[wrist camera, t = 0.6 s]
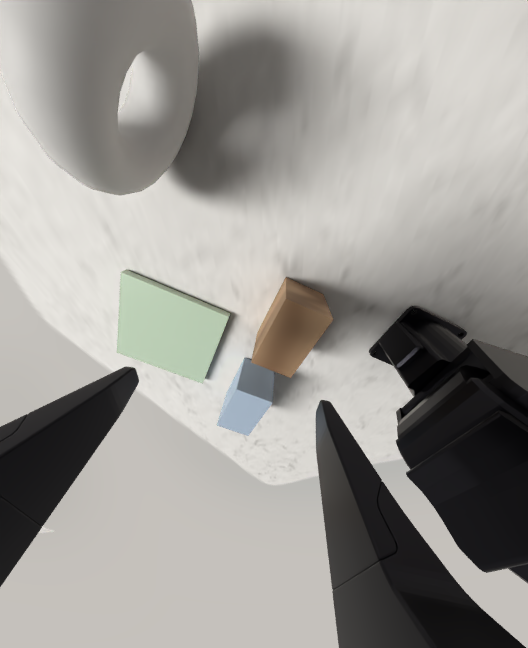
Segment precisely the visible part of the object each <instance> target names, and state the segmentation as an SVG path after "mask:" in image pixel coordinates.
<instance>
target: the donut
mask: <svg viewBox="0 0 528 648" xmlns="http://www.w3.org/2000/svg"><path fill="white" fill-rule="evenodd" d="M130 66H131V78H130V85H129V90H128V93H127V96H126V99H125V102H124V104H123V106H122V107H121V109H120V110H119V112H118V105H119V97H120V91H121V88H122V85H123V82H124V79H125V76H126V73H127V71H128V69H129V67H130ZM198 68H199V47H198V36H197V26H196V19H195V14H194V8H193V4H192V1H191V0H0V73H1V76H2V78H3V81H4V83H5V86H6V88H7V91H8V93H9V96H10V98H11V101H12V103H13V105H14V108H15V110H16V112H17V114H18V115H19V117H20V118H21V120H22V121H23V123H24V124H25V126H26V127H27V128H28V130H29V131H30V133H31V134H32V135H33V137H34V138H35V139H36V141H37V142H38V144H39V145H40V146H41V148H42V149H43V151H44V152H45V153H46V155H47V156H48V157H49V158H50V159H51V160H52V161H53V162H54V163H55V164H56V165H58V166H59V167H60V168H61V169H63V170H64V171H65V172H67V173H68V174H69V175H71V176H72V177H73V178H75V179H76V180H77V181H79V182H80V183H81V184H83V185H85V186H87V187H89V188H91V189H93V190H97V191H102V192H106V193H110V194H114V195H125V194H130V193H135V192H140V191H142V190H144V189H146V188H147V187H149V186H150V185H152V184H154V183H155V182H156V181H157V180H158V179H159V178H160V177H161V176H162V174H163V173H164V172H165V171H166V170H167V169H168V168H169V166H170V165H171V163H172V162H173V160H174V159H175V157H176V156H177V154H178V152H179V150H180V148H181V145H182V143H183V141H184V139H185V137H186V134H187V131H188V127H189V124H190V121H191V118H192V114H193V109H194V104H195V98H196V93H197V85H198ZM117 113H118V114H117Z"/></svg>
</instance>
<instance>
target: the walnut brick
mask: <svg viewBox="0 0 528 648" xmlns="http://www.w3.org/2000/svg"><path fill="white" fill-rule="evenodd" d="M332 321H333V317H332V315H331V312H330V310H329V307H328V305H327V302H326V300H325V297H324V295H323V294H322V293H320V292H317V291H315V290H313V289H311V288H309V287H307V286H304V285H302V284H300V283H298V282H296V281H294V280H291V279H289V278H287V277H286V278H285V280H284V282H283V284H282V286H281V288H280V290H279V292H278V293H277V295H276V297H275V299H274V301H273V303H272V305H271V307H270V309H269V311H268V313H267V315H266V317H265V319H264V321H263V323H262V325H261V327H260V329H259V331H258V333H257V337H256V342H255V347H254V351H253V356H252V361H251V363H253V364H256V365H259V366H261V367H264V368H266V369H269V370H272V371H274V372H277V373H279V374H282V375H284V376H287V377H290V378H291V377H292V375H293V374H294V373H295V371H296V370H297V369H298V367H299V366H300V365H301V363H302V362H303V360H304V359H305V358H306V356H307V355H308V354H309V352H310V351H311V350H312V348H313V347H314V345H315V344H316V343H317V341H318V340H319V339H320V337H321V336H322V334H323V333H324V332H325V330H326V329H327V328H328V326H329V325H330V324H331V322H332Z"/></svg>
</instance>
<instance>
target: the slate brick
mask: <svg viewBox="0 0 528 648" xmlns="http://www.w3.org/2000/svg"><path fill="white" fill-rule="evenodd" d="M251 361H252V360H250V359H248V358H244V360H243V362H242V364H241V366H240V368H239V370H238V372H237V374H236V376H235V378H234V379H233V381H232V383H231V385H230V387H229V389H228V391H227V394H226V397H225V400H224V404H223V407H222V410H221V413H220V416H219V420H218V423H217V426H220V427H223V428H226V429H229V430H232V431H235V432H238V433H241V434H244V435H247V436H248V435H249V434H250V433H251V431H252V430H253V429H254V427H255V426H256V425H257V423H258V422H259V420H260V419H261V418H262V416H263V415H264V414H265V412H266V411H267V410H268V408H269V407H270V405H271V404H272V403H273V389H274V374H275V372H274V371H272V370H269V369H266V368H264V367H261V366H259V365H256V364H253V363H251Z"/></svg>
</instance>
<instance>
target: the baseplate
mask: <svg viewBox="0 0 528 648" xmlns="http://www.w3.org/2000/svg"><path fill="white" fill-rule="evenodd" d="M230 314H231V313H229V312H226V311H224V310H221V309H219V308H217V307H214V306H212V305H209V304H207V303H205V302H202V301H200V300H197V299H195V298H193V297H190V296H188V295H186V294H183V293H181V292H178V291H176V290H174V289H171V288H169V287H166V286H164V285H162V284H159V283H157V282H155V281H152V280H150V279H147V278H145V277H143V276H140V275H138V274H135V273H133V272H131V271H128V270H125V271H122V272H121V279H120V299H119V319H118V339H117V353H120V354H122V355H125V356H128V357H131V358H133V359H136V360H139V361H142V362H144V363H147V364H150V365H153V366H156V367H158V368H161V369H164V370H167V371H169V372H172V373H175V374H178V375H180V376H183V377H186V378H189V379H191V380H194V381H197V382H200V383H202V384H203V381H204V379H205V377H206V374H207V372H208V369H209V367H210V364H211V362H212V359H213V357H214V354H215V351H216V349H217V346H218V344H219V341H220V339H221V336H222V334H223V331H224V329H225V326H226V324H227V321H228V319H229V316H230Z"/></svg>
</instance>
